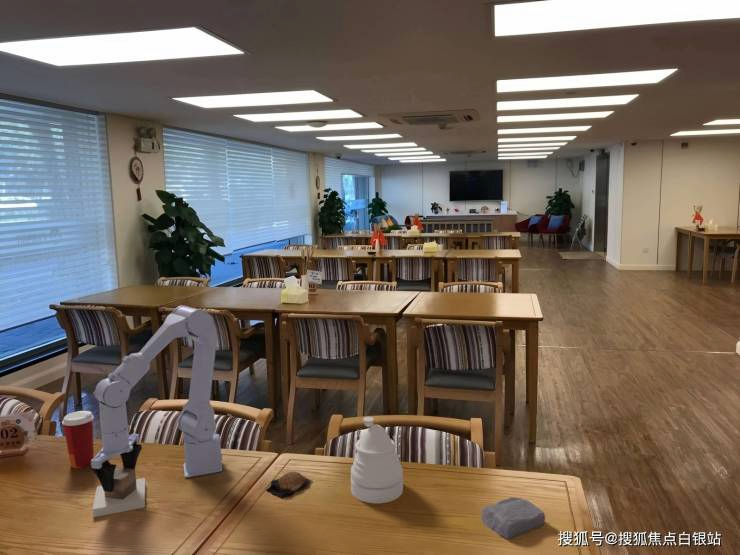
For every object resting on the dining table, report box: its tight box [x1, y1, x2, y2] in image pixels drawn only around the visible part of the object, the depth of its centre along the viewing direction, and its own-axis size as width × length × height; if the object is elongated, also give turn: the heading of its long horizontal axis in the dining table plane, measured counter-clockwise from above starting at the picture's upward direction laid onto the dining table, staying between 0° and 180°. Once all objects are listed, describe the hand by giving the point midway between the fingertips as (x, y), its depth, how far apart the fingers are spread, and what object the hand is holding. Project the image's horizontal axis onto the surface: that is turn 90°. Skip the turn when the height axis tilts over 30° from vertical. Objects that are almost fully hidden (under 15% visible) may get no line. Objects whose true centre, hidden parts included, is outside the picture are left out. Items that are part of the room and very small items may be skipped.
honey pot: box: [350, 416, 404, 504], centre depth 136 cm, size 13×13×18 cm
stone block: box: [481, 497, 546, 540], centre depth 123 cm, size 12×5×10 cm
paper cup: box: [61, 410, 95, 469], centre depth 152 cm, size 8×8×14 cm
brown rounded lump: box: [265, 470, 314, 499], centre depth 140 cm, size 11×8×4 cm
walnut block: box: [104, 466, 137, 499], centre depth 134 cm, size 5×5×5 cm
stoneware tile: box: [92, 477, 146, 518], centre depth 134 cm, size 11×11×2 cm
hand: (119, 482), depth 134 cm, fingers open, 7 cm apart
